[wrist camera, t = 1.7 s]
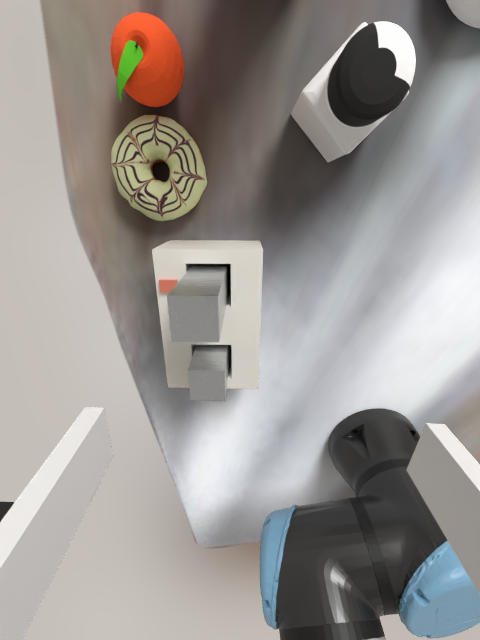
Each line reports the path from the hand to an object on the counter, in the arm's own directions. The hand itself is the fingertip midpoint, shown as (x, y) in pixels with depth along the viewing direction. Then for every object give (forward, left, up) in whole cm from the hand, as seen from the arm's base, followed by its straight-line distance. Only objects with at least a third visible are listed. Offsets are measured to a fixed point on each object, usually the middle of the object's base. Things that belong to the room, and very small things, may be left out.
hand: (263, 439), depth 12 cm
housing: (-5, +5, -30) cm, 31 cm away
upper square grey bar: (0, +5, -30) cm, 30 cm away
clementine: (+21, +11, -30) cm, 39 cm away
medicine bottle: (+18, -9, -30) cm, 36 cm away
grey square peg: (-10, +5, -30) cm, 32 cm away
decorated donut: (+12, +11, -30) cm, 35 cm away
